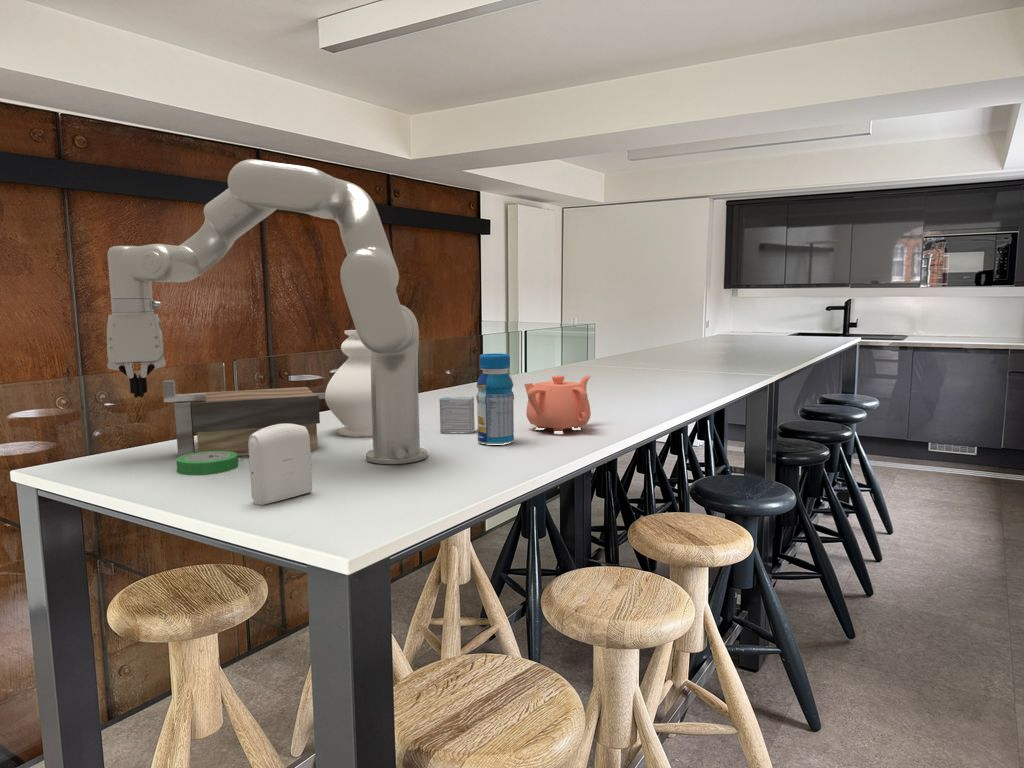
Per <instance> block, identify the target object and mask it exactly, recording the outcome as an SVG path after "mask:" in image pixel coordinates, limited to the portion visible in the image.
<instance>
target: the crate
mask: <svg viewBox="0 0 1024 768" xmlns="http://www.w3.org/2000/svg"><path fill="white" fill-rule="evenodd" d="M192 403H193V401H180V402H174V417H175V431H176V445H177V458H178V457H180V456H182V455H186V454H190V453H196V449H195V435H194V434H195V433H194V430H193V415H192ZM301 426H305V427H306V429H307V430H308V433H309V438H310V451H313V450H318V446H319V445H318V429H317V427H318V426H317V424H305V425H301ZM264 428H265V427H264ZM261 429H263V428H250V429H237V430H223V431H210V432H196V439H197V440H196V441H197V442H196V443H197V452H204V451H230V452H235V453H236V454H237V455H238V457H241V456H243V457H244V456H249V447H248V441H249V437H250V436H251V435H252V434H253V433H255V432H257V431H258V430H261Z"/></svg>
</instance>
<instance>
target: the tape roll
mask: <svg viewBox="0 0 1024 768" xmlns="http://www.w3.org/2000/svg"><path fill="white" fill-rule="evenodd" d="M238 457H239V456H238V455H237V454H236V453H235V452H230V451H204V452H198V451H197V452H196V451H195V453H190V454H186V455H182V456H180V457H178V456H177V457H176V472H177V473H178V474H180V475H185V476H207V475H214V474H219V473H225V472H229V471H232V470H235V469H237V468H238V467H239V458H238Z"/></svg>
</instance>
